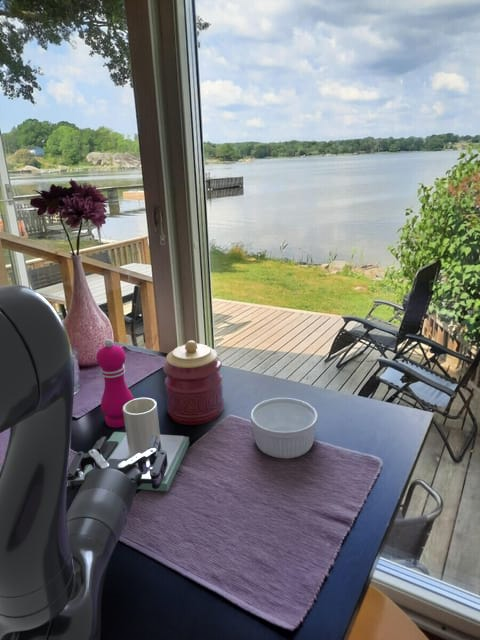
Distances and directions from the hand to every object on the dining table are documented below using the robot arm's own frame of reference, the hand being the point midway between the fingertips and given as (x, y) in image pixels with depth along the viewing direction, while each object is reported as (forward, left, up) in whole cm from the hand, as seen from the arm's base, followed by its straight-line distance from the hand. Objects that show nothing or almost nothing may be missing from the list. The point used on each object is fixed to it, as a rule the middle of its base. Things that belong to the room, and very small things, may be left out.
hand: (130, 440), depth 74 cm
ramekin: (+25, +17, -11) cm, 32 cm away
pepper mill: (-12, +21, -11) cm, 27 cm away
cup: (-1, +7, -7) cm, 10 cm away
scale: (-2, +7, -10) cm, 13 cm away
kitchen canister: (+4, +27, -11) cm, 29 cm away
